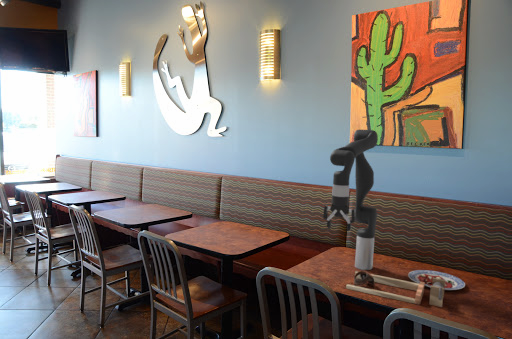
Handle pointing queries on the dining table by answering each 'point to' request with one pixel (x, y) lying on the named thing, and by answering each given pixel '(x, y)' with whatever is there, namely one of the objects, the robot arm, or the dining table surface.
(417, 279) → the ceramic plate
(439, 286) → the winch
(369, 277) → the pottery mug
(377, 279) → the bay
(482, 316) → the dining table surface
